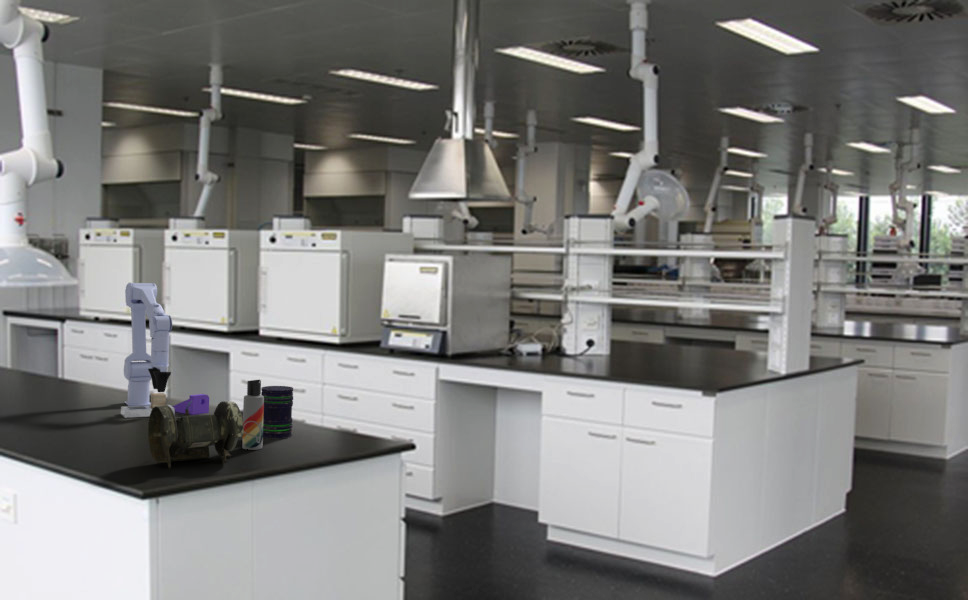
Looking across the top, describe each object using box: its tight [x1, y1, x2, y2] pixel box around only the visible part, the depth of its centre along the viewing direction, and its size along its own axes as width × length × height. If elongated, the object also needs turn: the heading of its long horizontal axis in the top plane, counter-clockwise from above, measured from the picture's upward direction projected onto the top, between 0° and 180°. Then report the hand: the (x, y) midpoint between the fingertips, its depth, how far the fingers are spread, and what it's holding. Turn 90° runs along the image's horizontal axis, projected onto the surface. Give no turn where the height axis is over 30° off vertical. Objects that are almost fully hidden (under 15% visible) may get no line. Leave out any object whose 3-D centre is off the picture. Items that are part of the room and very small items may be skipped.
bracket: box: [171, 393, 210, 416], centre depth 331 cm, size 12×7×7 cm, turn 56°
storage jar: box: [261, 385, 294, 440], centre depth 292 cm, size 10×10×15 cm
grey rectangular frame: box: [120, 404, 176, 419], centre depth 321 cm, size 8×16×2 cm, turn 120°
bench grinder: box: [147, 400, 244, 469], centre depth 251 cm, size 20×22×20 cm
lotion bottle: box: [241, 379, 264, 451], centre depth 272 cm, size 6×6×20 cm
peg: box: [150, 392, 167, 409], centre depth 323 cm, size 4×4×7 cm
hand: (158, 390), depth 323 cm, fingers open, 7 cm apart
